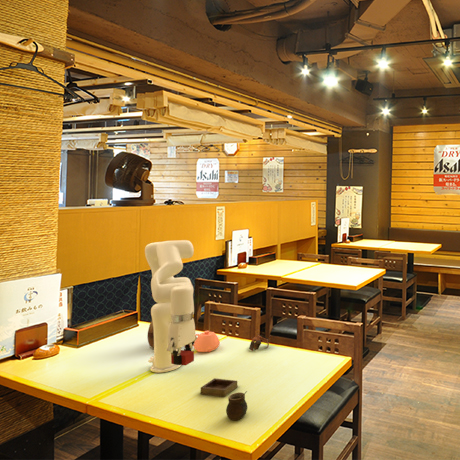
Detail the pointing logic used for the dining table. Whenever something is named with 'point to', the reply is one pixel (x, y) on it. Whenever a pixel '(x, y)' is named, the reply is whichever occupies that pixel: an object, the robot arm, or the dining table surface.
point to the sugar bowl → (206, 342)
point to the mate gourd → (236, 406)
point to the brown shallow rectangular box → (219, 387)
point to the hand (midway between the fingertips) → (182, 361)
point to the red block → (185, 357)
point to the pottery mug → (258, 342)
